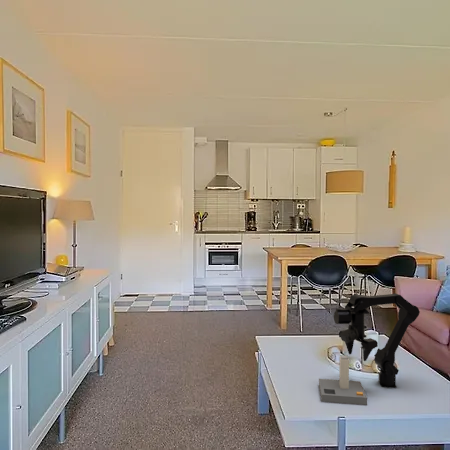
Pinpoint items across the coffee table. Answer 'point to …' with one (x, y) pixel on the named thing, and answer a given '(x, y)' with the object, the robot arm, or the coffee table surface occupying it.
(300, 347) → the coffee table surface
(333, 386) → the socket board
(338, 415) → the coffee table surface
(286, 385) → the coffee table surface
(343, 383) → the plug
